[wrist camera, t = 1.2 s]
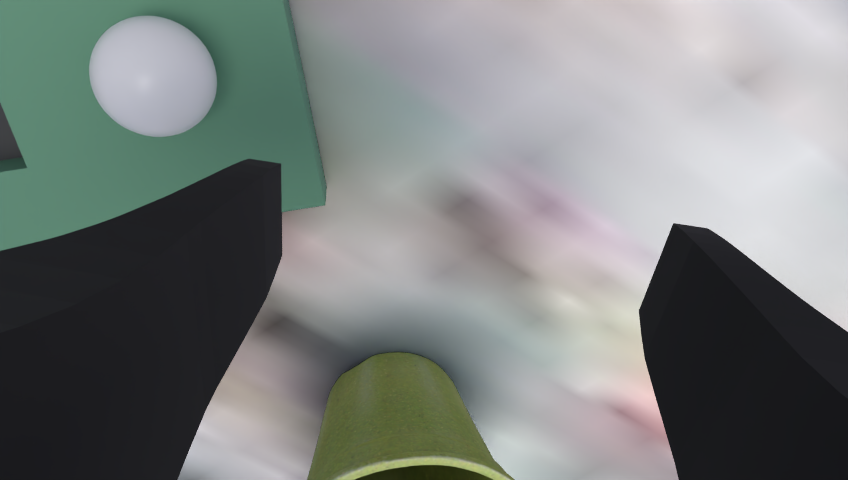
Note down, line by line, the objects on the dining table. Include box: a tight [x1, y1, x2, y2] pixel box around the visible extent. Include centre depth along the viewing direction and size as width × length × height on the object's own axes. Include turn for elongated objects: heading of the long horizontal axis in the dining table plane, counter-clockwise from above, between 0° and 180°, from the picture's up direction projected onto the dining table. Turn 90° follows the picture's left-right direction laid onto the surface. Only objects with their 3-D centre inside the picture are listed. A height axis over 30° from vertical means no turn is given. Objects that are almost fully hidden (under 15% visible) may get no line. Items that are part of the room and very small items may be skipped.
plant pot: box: [307, 352, 514, 480], centre depth 25 cm, size 9×9×9 cm
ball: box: [89, 16, 217, 137], centre depth 19 cm, size 4×4×4 cm
